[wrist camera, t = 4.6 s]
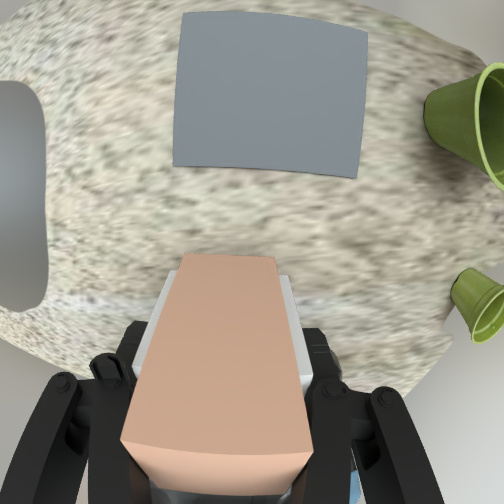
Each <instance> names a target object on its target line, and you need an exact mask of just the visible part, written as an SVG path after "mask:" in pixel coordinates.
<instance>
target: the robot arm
mask: <svg viewBox="0 0 504 504" xmlns="http://www.w3.org/2000/svg"><path fill="white" fill-rule="evenodd" d="M176 273H177V271H175V270H170V273H169V275H168V277H167V279H166V282H165V284H164V286H163V289H162V291H161V293H160V296H159V298H158V300H157V303H156V305H155V308H154V310H153V312H152V315H151V317H150V320H149V322H144V321H134V322H133V323H132V324H131V325H130V326H128V327H127V329H126V332H125V334H124V337H123V338H122V340H121V344H120V345H119V347H118V349H117V351H116V354H114V353H102V354H100V355H98V356H96V357H95V358H94V359H93V360H92V361H91V362H90V365H89V367H90V369H91V371H92V373H93V375H94V377H95V379H87V380H77V379H76V377H75V376H74V375H73V374H71V373H69V372H60V373H57V374H55V375H54V376H52V378H51V379H50V380H49V382H48V384H47V386H46V388H45V389H44V391H43V393H42V395H41V397H40V399H39V401H38V403H37V405H36V407H35V409H34V411H33V413H32V415H31V417H30V419H29V421H28V423H27V425H26V428H25V430H24V432H23V434H22V436H21V439H20V441H19V443H18V446H17V448H16V451H15V453H14V455H13V458H12V461H11V463H10V466H9V468H8V471H7V474H6V477H5V480H4V482H3V486H2V489H1V492H0V504H75V503H76V499H77V495H78V491H79V488H80V484H81V480H82V477H83V473H84V470H85V467H86V463H87V460H88V504H356V503H357V501H358V499H359V498H360V494H361V491H360V484H359V478H358V473H359V477H360V481H361V485H362V489H363V493H364V496H365V501H366V504H445V503H444V500H443V498H442V495H441V492H440V489H439V486H438V483H437V481H436V478H435V475H434V473H433V470H432V467H431V465H430V462H429V459H428V457H427V454H426V452H425V449H424V447H423V445H422V442H421V440H420V437H419V435H418V433H417V430H416V428H415V426H414V423H413V421H412V419H411V417H410V414H409V412H408V410H407V408H406V406H405V403H404V401H403V399H402V397H401V395H400V394H399V393H398V391H396V390H395V389H393V388H390V387H387V386H381V387H378V388H376V389H375V390H374V391H373V392H372V393H364V392H358V391H354V390H351V389H349V388H348V386H347V385H346V384H345V383H344V382H342V370H341V367H340V364H339V361H338V358H337V356H336V355H335V353H334V352H333V351H332V350H330V349H329V346H328V343H327V340H326V337H325V335H324V334H323V333H322V332H321V331H320V330H319V328H302V327H301V323H300V319H299V316H298V312H297V308H296V304H295V300H294V297H293V293H292V289H291V286H290V282H289V278H288V275H278V276H279V280H280V285H281V289H282V294H283V299H284V303H285V308H286V313H287V318H288V322H289V327H290V332H291V337H292V342H293V347H294V351H295V356H296V361H297V366H298V371H299V376H300V382H301V387H302V392H303V397H304V402H305V407H306V413H307V418H308V423H309V429H310V434H311V440H312V445H313V451H314V452H313V453H312V455H311V456H310V458H309V459H308V461H307V462H306V464H305V465H304V467H303V468H302V470H301V471H300V473H299V474H298V476H297V477H296V478H295V480H294V481H293V483H292V484H291V485H290V487H289V488H288V489H287V491H286V492H285V493H284V494H280V495H257V496H236V495H213V494H200V493H191V492H182V491H175V490H168V489H162V488H158V487H157V486H156V485H155V484H154V483H153V481H152V480H151V479H150V478H149V477H148V476H147V474H146V473H145V472H144V471H143V470H142V468H141V467H140V466H139V465H138V463H137V462H136V461H135V460H134V458H133V457H132V456H131V454H130V453H129V452H128V450H127V449H126V448H125V446H124V445H123V443H122V442H121V441H120V438H121V434H122V431H123V427H124V423H125V420H126V416H127V413H128V410H129V406H130V403H131V400H132V396H133V393H134V390H135V387H136V384H137V381H138V377H139V374H140V371H141V368H142V365H143V362H144V359H145V356H146V353H147V351H148V348H149V345H150V342H151V339H152V336H153V333H154V331H155V328H156V325H157V322H158V320H159V317H160V314H161V312H162V309H163V306H164V304H165V301H166V298H167V296H168V293H169V291H170V288H171V286H172V283H173V280H174V278H175V275H176ZM351 447H352V450H353V453H352V450H351ZM353 454H354V457H353ZM354 458H355V461H356V465H355V461H354ZM356 466H357V468H356ZM357 469H358V470H357Z"/></svg>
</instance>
